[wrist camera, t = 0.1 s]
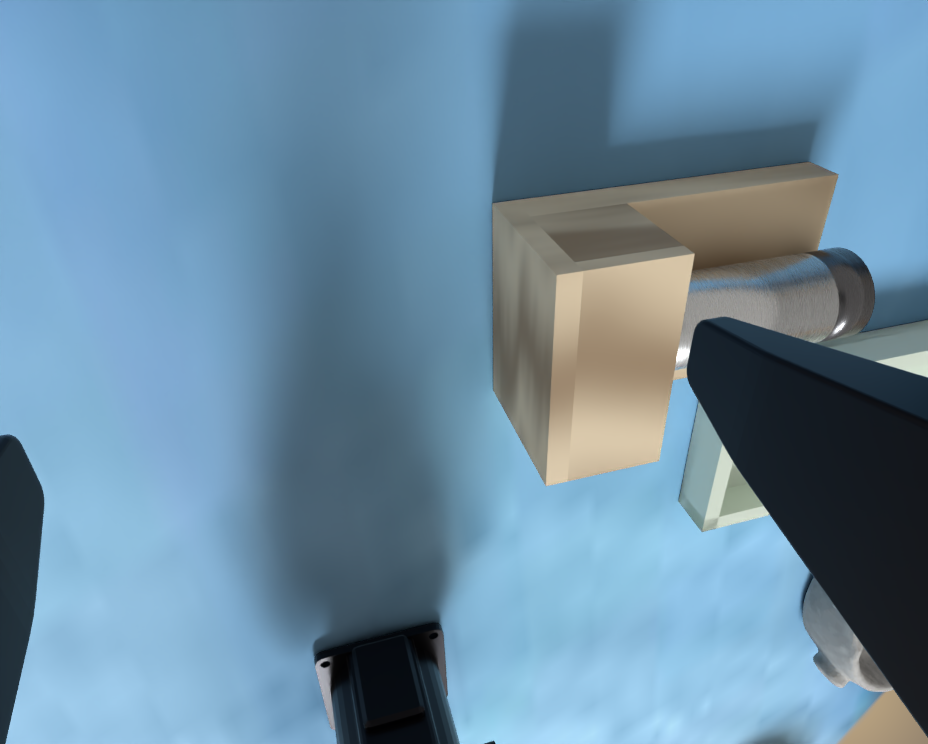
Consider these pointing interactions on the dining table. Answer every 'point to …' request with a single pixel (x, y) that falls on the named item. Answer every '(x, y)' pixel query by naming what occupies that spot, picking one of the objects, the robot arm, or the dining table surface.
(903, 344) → the tray
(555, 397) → the bracket
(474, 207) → the dining table surface
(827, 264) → the pin
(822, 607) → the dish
